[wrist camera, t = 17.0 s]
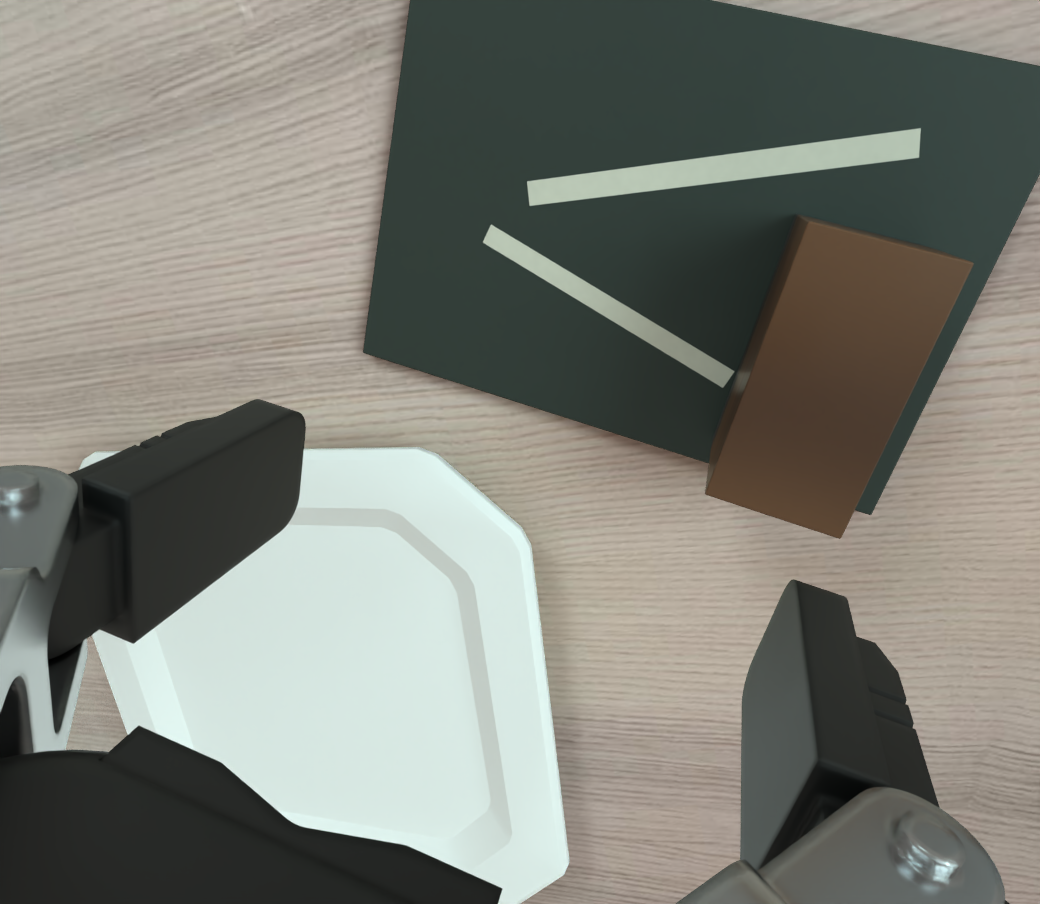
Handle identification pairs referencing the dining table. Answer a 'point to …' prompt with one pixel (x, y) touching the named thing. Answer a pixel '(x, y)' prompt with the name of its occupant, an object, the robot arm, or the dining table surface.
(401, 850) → the robot arm
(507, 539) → the plate
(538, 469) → the dining table surface
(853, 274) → the eraser
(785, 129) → the chalkboard
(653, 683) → the dining table surface
